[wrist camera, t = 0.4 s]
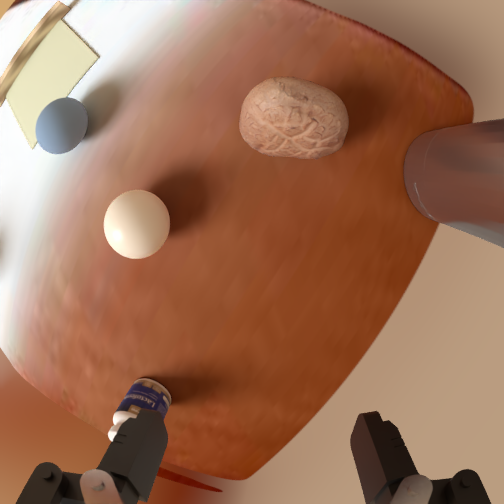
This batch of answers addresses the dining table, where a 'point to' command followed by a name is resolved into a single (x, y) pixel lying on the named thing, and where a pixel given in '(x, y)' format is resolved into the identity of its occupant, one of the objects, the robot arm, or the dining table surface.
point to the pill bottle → (141, 402)
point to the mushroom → (293, 119)
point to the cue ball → (137, 224)
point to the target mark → (48, 76)
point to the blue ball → (61, 125)
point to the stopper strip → (30, 46)
